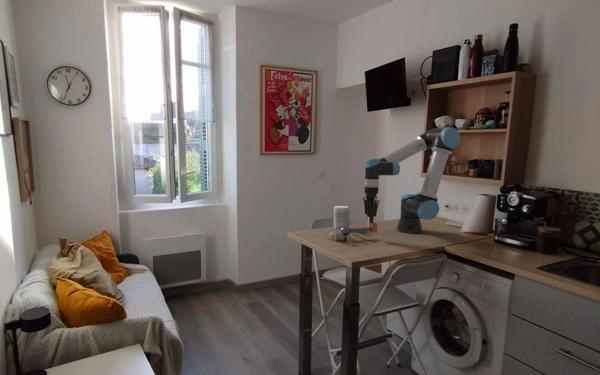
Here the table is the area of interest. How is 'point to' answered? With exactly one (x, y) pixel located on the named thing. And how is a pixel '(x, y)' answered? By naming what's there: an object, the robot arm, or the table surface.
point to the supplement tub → (341, 217)
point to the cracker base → (356, 240)
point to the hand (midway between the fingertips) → (370, 228)
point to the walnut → (332, 235)
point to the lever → (354, 231)
